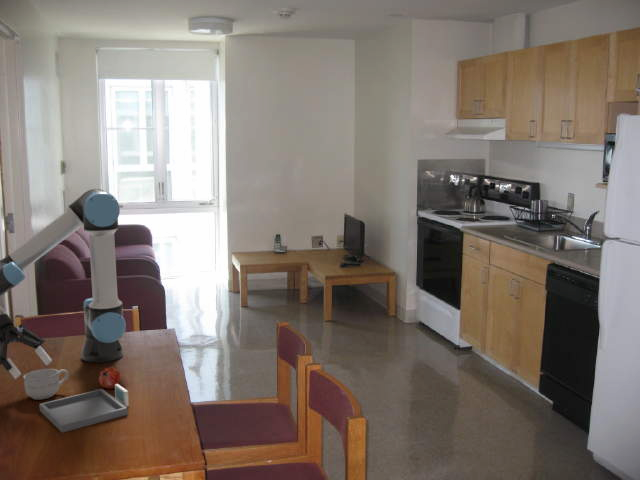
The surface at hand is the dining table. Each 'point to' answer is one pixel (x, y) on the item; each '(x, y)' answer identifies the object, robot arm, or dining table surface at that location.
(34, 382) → the teacup
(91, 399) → the tray
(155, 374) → the dining table surface
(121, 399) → the tag
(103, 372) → the pomegranate
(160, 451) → the dining table surface
